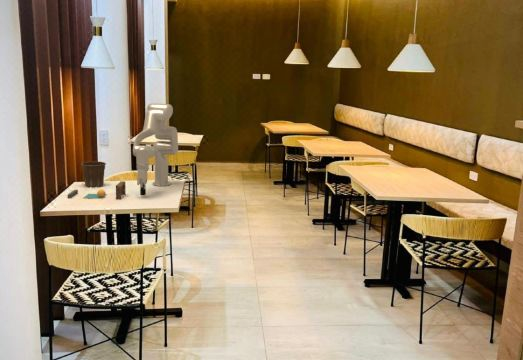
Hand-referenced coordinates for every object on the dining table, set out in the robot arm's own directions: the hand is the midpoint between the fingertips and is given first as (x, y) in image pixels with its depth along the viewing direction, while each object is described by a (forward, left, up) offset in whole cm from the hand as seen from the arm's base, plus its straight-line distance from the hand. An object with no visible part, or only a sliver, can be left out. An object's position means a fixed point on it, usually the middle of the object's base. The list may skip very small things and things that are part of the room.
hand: (143, 195), depth 314 cm
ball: (+2, -26, +1) cm, 26 cm away
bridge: (0, -14, -2) cm, 14 cm away
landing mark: (0, -30, -2) cm, 30 cm away
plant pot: (-31, -39, -2) cm, 50 cm away
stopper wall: (0, -44, -2) cm, 44 cm away
